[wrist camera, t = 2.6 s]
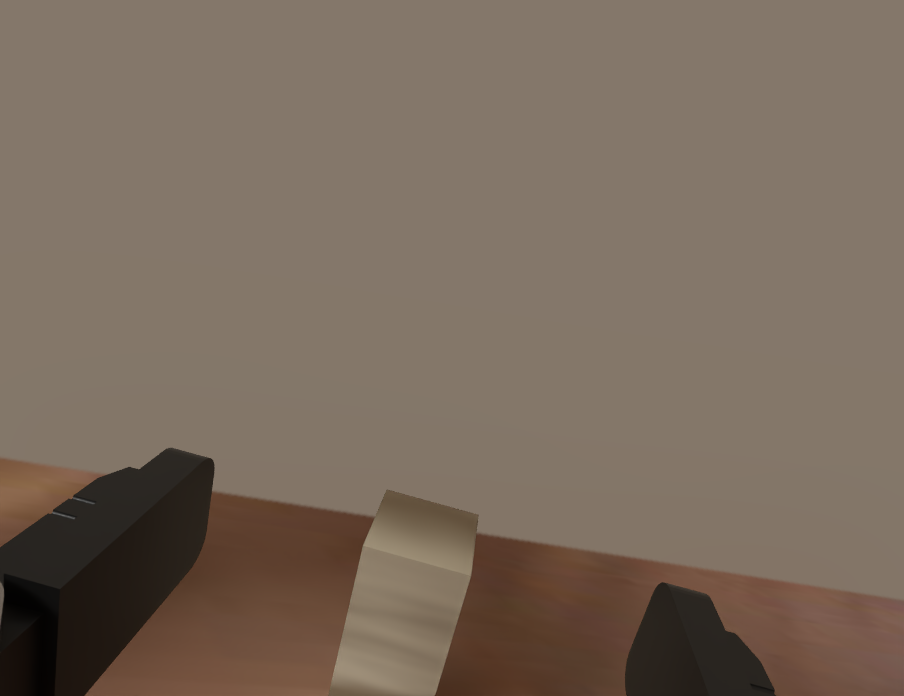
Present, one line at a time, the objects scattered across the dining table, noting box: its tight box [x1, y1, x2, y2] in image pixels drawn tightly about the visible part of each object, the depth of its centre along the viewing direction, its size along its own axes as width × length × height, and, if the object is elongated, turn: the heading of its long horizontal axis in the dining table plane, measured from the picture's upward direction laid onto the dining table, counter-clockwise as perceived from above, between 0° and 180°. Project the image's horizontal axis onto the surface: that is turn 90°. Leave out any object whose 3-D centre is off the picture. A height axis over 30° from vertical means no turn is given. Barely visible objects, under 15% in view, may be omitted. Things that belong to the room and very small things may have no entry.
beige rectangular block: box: [328, 490, 478, 696], centre depth 25 cm, size 4×4×12 cm
